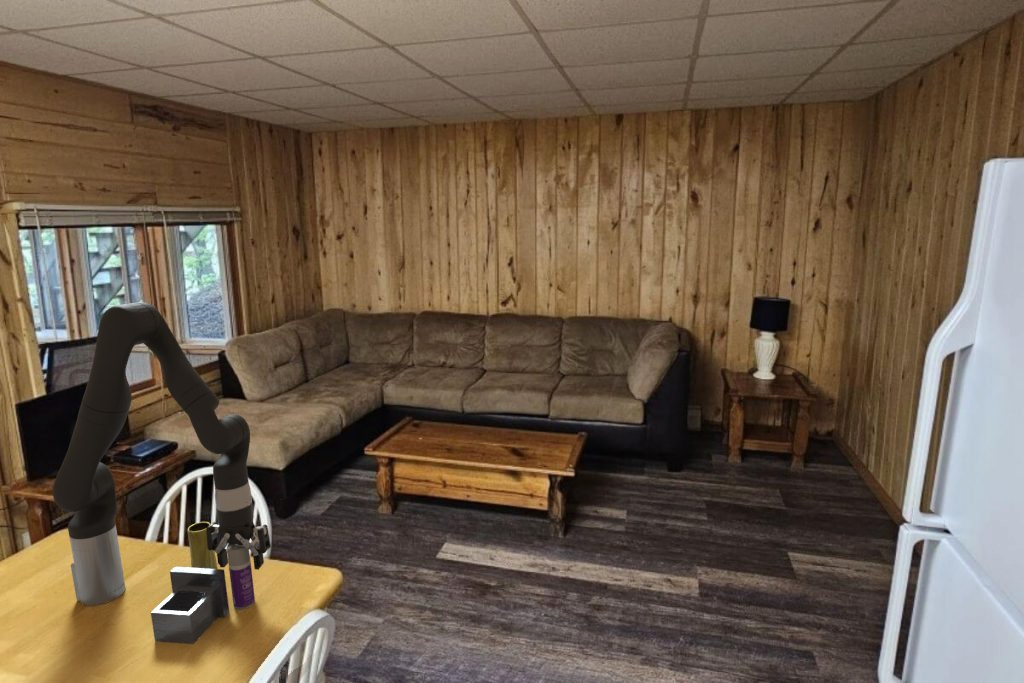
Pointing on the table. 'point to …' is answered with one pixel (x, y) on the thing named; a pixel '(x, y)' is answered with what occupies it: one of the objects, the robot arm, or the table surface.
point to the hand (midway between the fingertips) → (241, 566)
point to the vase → (200, 547)
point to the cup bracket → (190, 605)
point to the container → (240, 576)
